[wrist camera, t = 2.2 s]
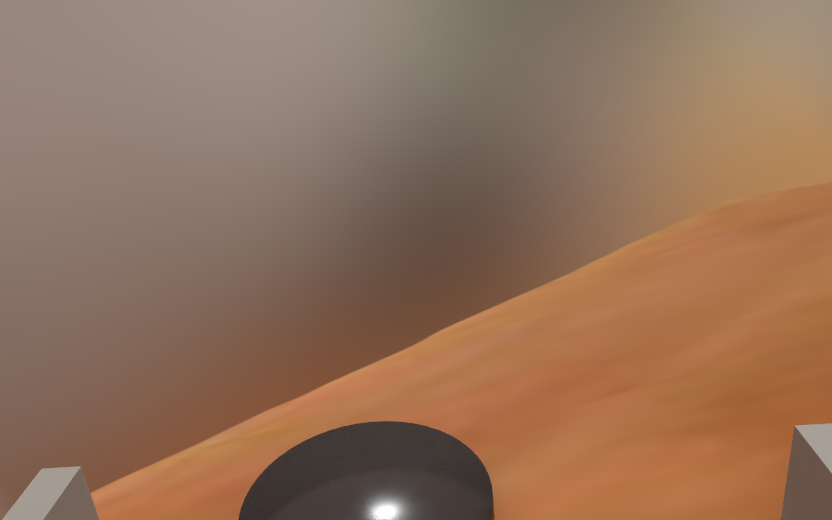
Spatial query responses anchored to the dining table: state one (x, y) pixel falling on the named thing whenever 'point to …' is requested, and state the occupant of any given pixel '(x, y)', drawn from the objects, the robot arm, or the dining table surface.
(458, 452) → the disc
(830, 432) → the robot arm
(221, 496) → the dining table surface
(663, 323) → the dining table surface
